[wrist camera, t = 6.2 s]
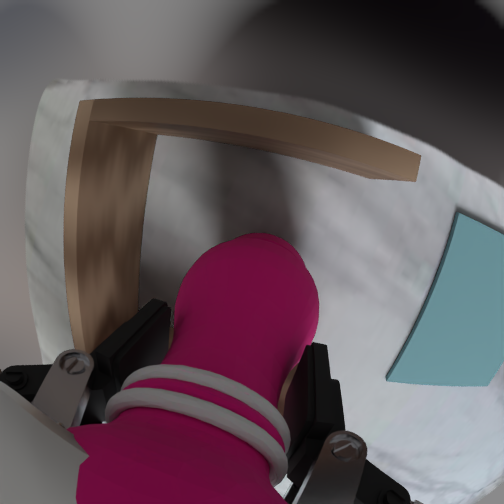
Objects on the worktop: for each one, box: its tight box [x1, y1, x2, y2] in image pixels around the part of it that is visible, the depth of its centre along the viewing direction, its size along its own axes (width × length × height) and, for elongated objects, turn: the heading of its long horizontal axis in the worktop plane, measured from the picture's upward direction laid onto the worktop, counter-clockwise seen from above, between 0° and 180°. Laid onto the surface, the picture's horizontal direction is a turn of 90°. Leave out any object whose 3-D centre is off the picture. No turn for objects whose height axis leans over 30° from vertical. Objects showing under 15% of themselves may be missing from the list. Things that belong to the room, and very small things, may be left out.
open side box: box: [64, 98, 421, 416], centre depth 17 cm, size 18×17×8 cm
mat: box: [386, 212, 504, 386], centre depth 18 cm, size 16×16×1 cm
